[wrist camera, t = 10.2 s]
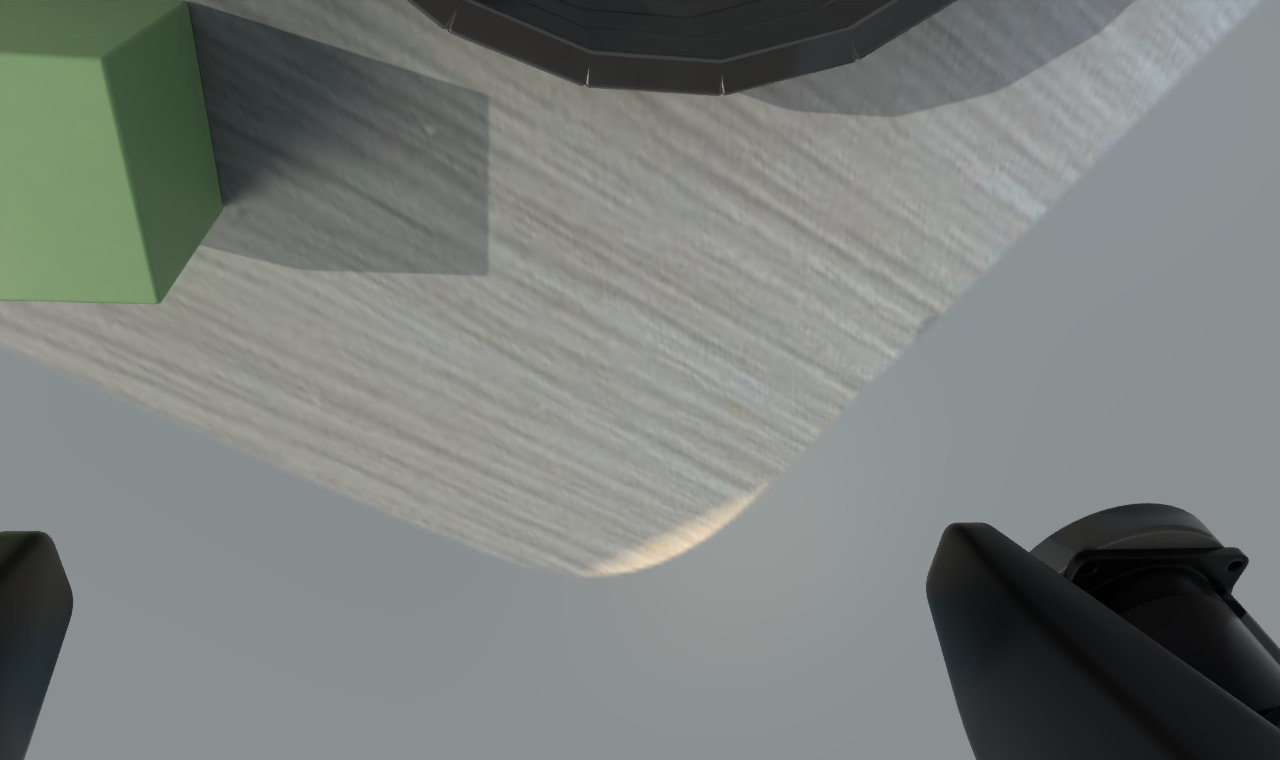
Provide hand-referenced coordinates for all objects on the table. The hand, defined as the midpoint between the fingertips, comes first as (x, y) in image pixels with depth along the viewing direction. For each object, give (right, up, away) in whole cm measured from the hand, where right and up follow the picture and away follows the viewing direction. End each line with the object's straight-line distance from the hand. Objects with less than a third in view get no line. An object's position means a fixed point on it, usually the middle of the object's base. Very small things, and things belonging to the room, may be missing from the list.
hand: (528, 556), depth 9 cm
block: (-9, +7, +7) cm, 14 cm away
